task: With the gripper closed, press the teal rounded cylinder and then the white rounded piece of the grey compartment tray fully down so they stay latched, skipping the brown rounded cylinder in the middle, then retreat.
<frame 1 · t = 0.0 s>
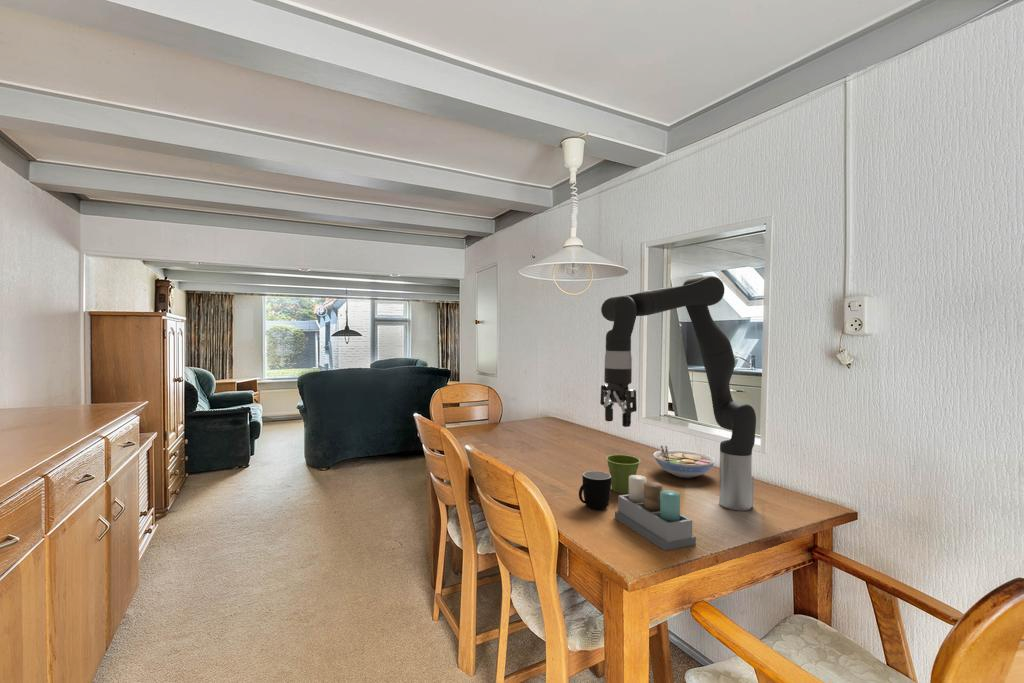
hand: (617, 423, 128), 29 cm above the table, fingers open, 8 cm apart
ramen bowl: (683, 475, 176), on the table
mug: (593, 508, 142), on the table
brown rounded cylinder: (652, 496, 126), point 9 cm above the table, slide at 0.0 cm
plant pot: (622, 491, 158), on the table
grey compartment tray: (652, 530, 126), on the table
teal rounded cylinder: (670, 505, 119), point 9 cm above the table, slide at 0.0 cm
white rounded piece: (637, 488, 133), point 9 cm above the table, slide at 0.0 cm
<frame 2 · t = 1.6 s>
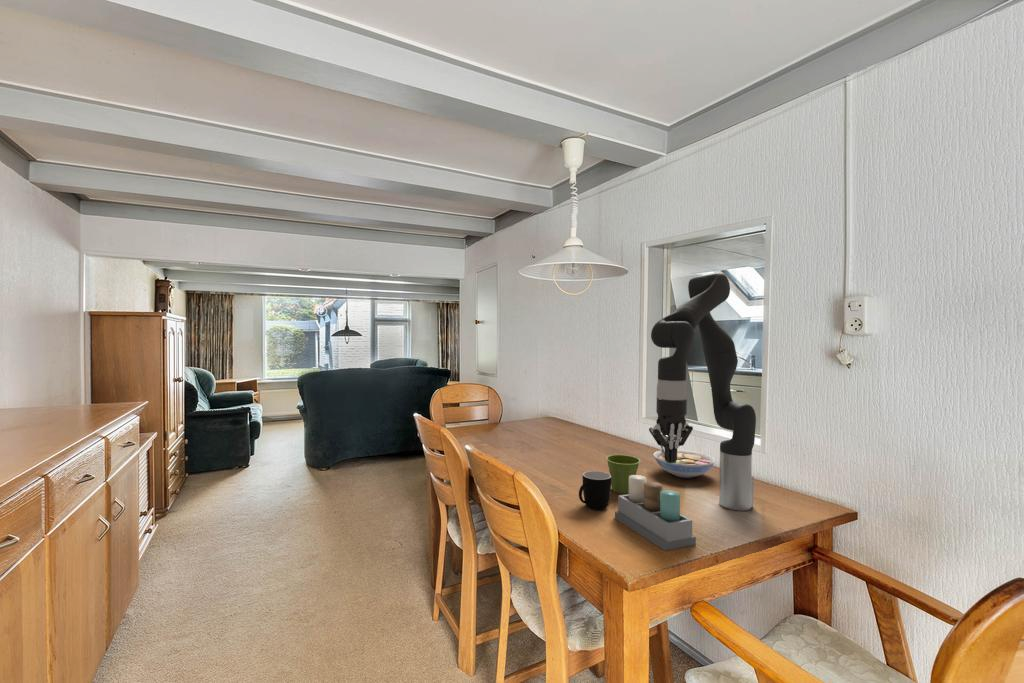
hand: (670, 462, 119), 21 cm above the table, fingers closed
nothing on the table moved.
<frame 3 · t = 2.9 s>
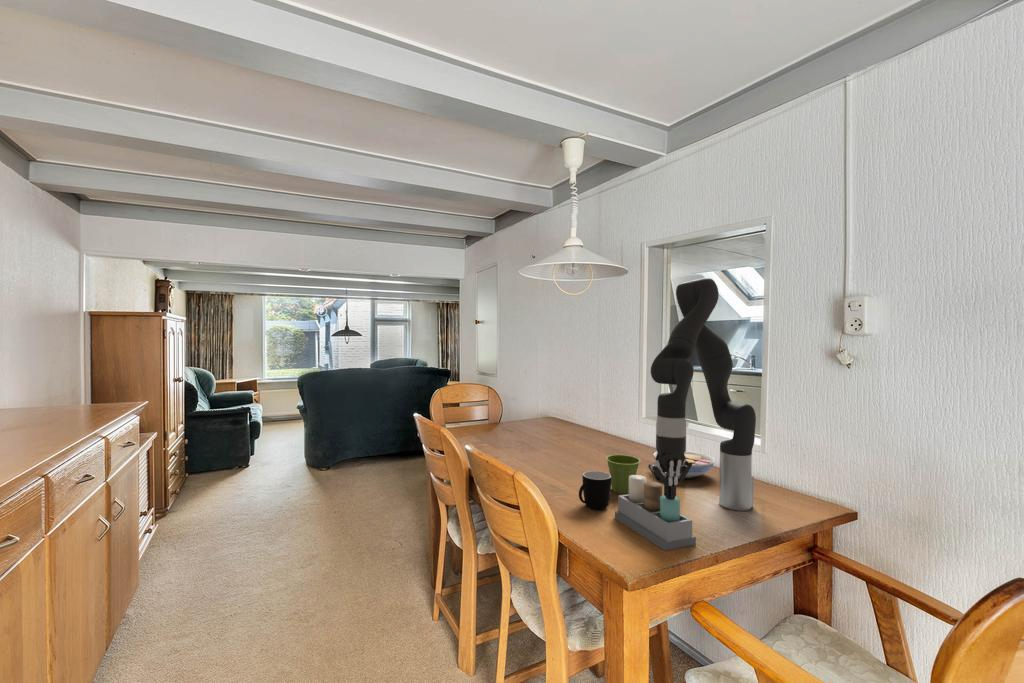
hand: (669, 498, 119), 11 cm above the table, fingers closed
teal rounded cylinder: (670, 510, 119), point 8 cm above the table, slide at 1.4 cm, touching gripper
everything else where it was.
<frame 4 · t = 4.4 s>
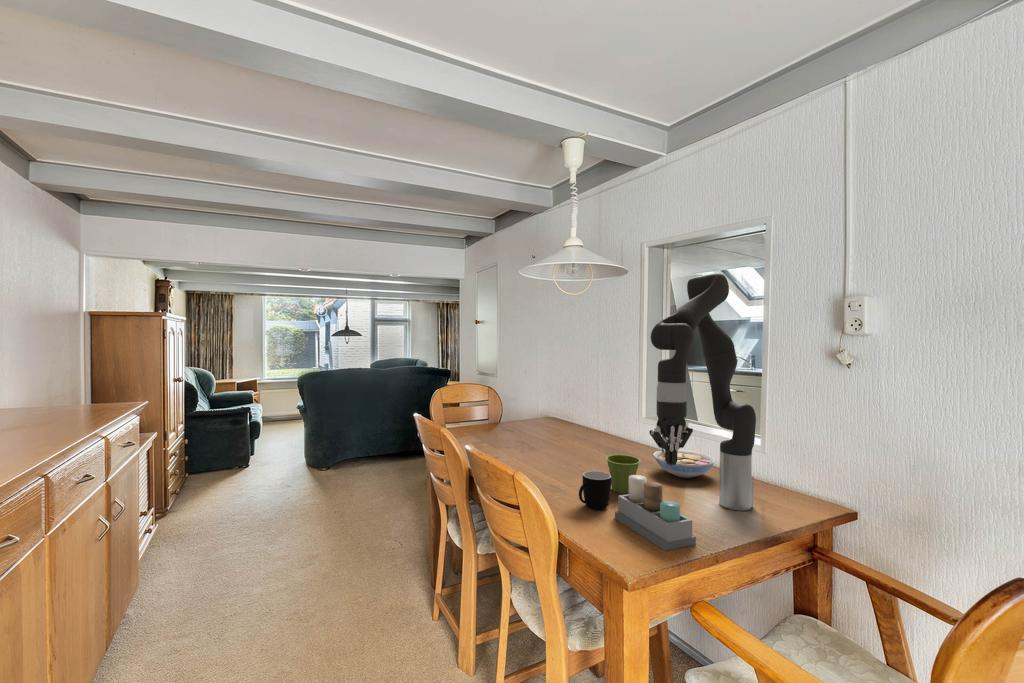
hand: (671, 464, 119), 20 cm above the table, fingers closed
teal rounded cylinder: (670, 516, 119), point 6 cm above the table, slide at 3.0 cm
everything else where it was.
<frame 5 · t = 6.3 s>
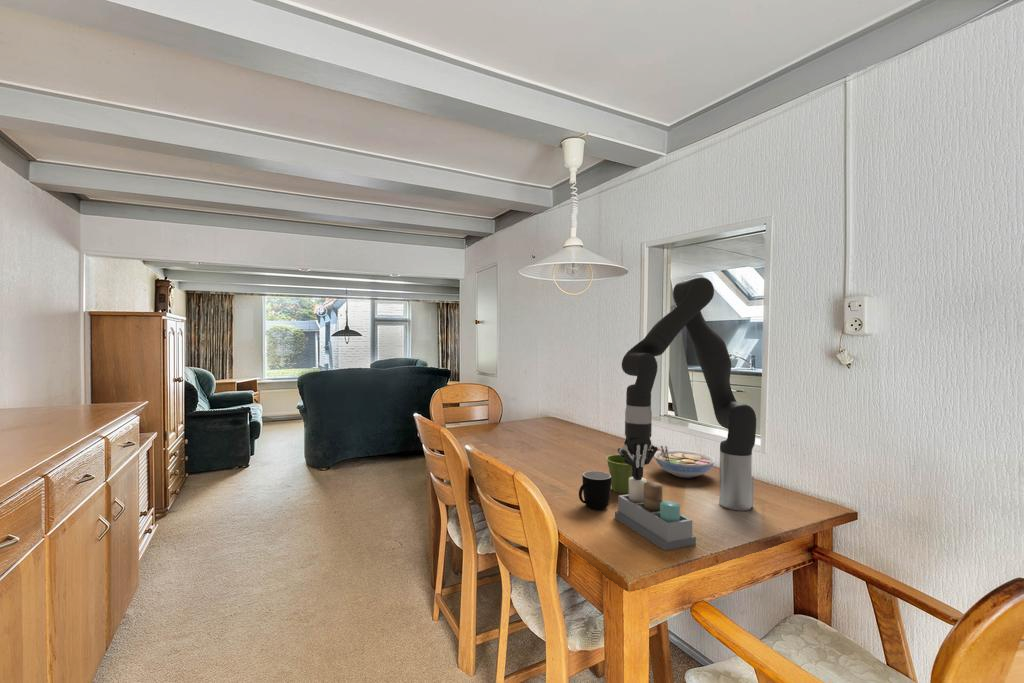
hand: (637, 479, 133), 12 cm above the table, fingers closed
white rounded piece: (637, 490, 133), point 9 cm above the table, slide at 0.5 cm, touching gripper
everything else where it was.
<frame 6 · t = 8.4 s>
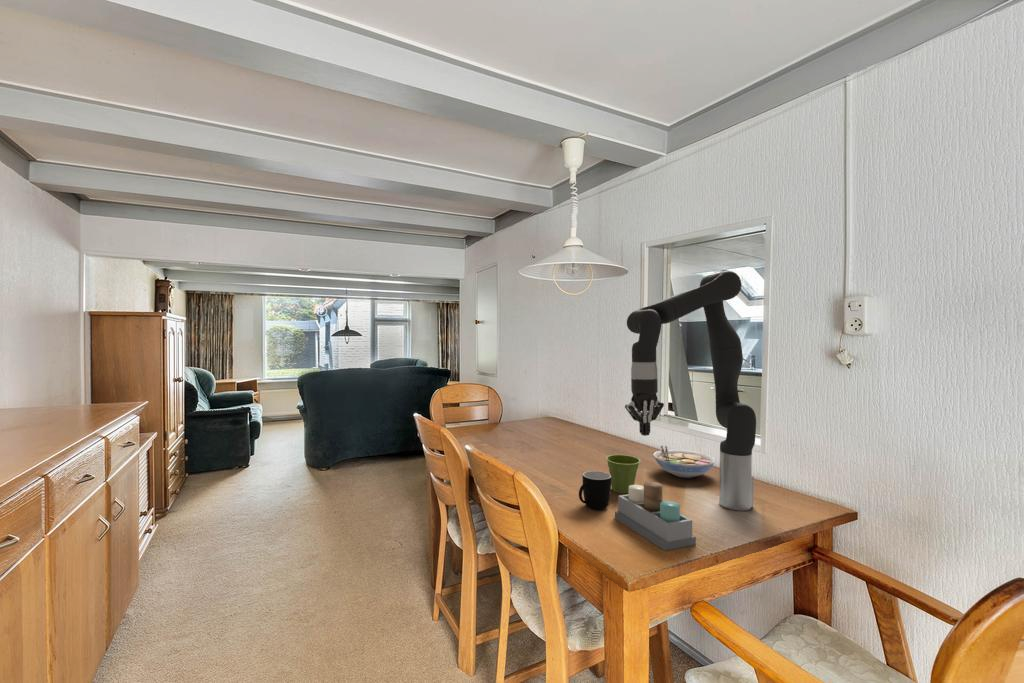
hand: (644, 434, 134), 25 cm above the table, fingers closed
white rounded piece: (637, 498, 133), point 6 cm above the table, slide at 3.0 cm
everything else where it was.
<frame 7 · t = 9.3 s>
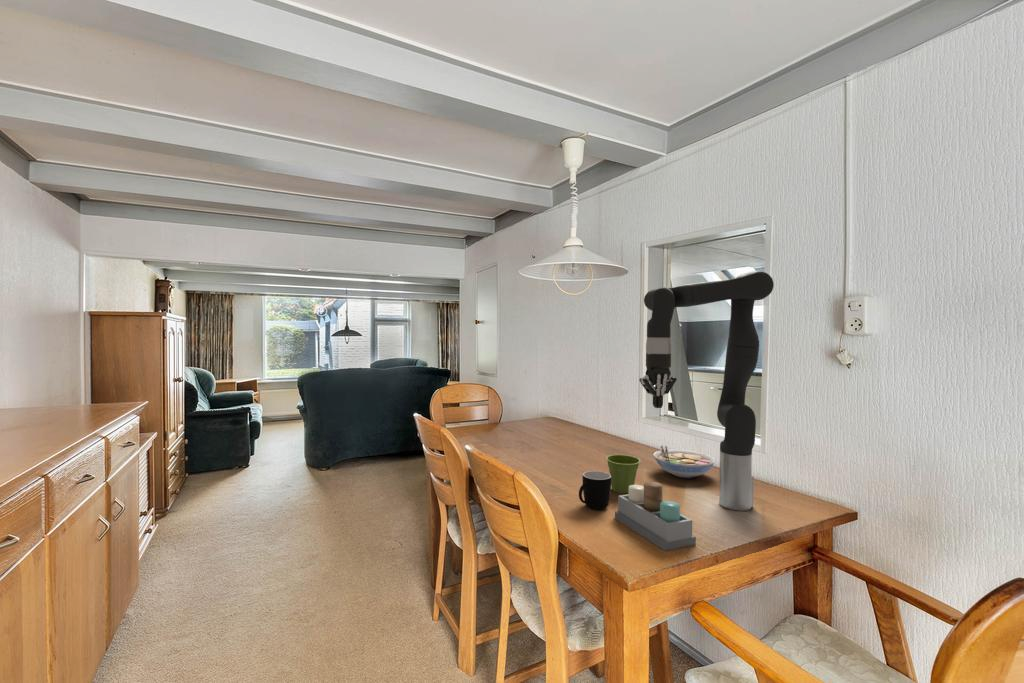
hand: (657, 407, 141), 32 cm above the table, fingers closed
nothing on the table moved.
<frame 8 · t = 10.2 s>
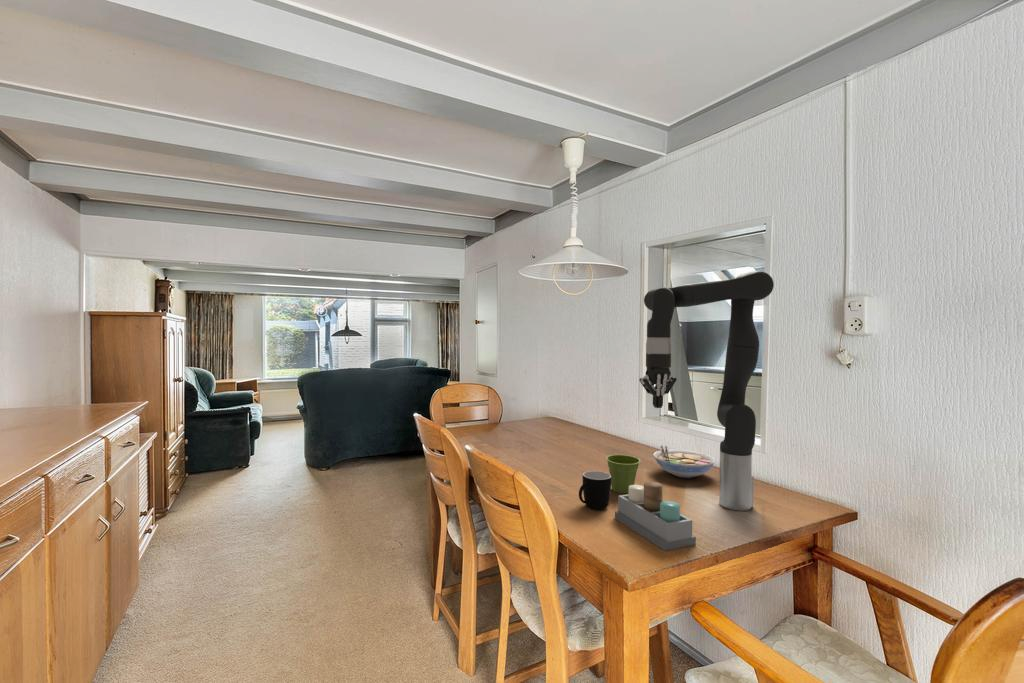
hand: (657, 407, 141), 32 cm above the table, fingers closed
nothing on the table moved.
at the end: teal rounded cylinder slide at 3.0 cm; white rounded piece slide at 3.0 cm; brown rounded cylinder slide at 0.0 cm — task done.
